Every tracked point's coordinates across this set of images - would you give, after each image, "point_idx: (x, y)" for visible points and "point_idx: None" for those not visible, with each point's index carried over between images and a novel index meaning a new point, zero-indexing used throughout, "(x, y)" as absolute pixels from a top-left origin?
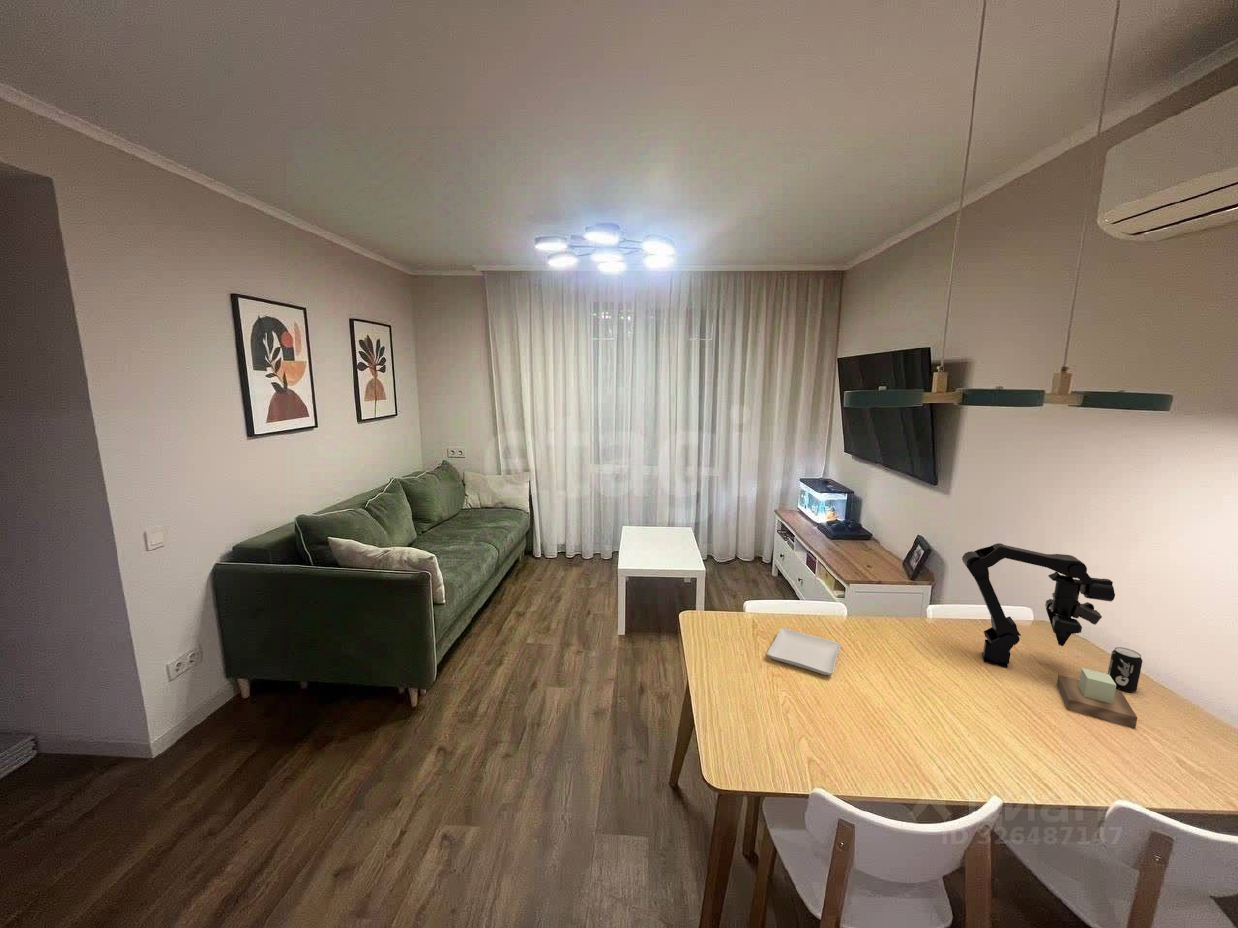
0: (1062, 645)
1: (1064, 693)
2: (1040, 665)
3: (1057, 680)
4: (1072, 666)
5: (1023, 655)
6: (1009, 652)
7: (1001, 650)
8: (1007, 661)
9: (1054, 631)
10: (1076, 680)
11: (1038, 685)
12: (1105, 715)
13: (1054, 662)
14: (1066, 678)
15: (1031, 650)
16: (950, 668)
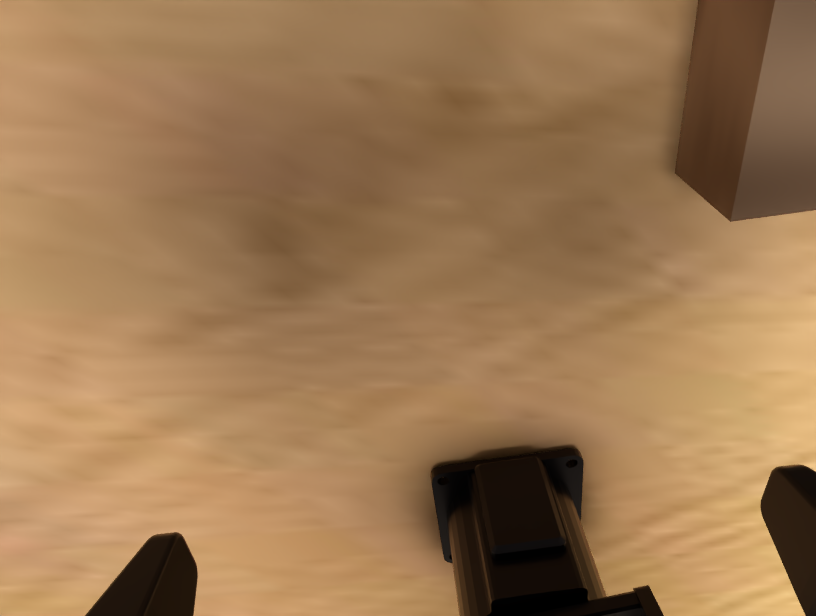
0: (802, 475)
1: None
2: (346, 280)
3: (704, 192)
4: (83, 17)
5: (243, 383)
6: (559, 545)
7: (604, 595)
8: (545, 477)
9: (187, 597)
10: (793, 57)
11: (760, 286)
12: None
13: (156, 181)
14: (785, 153)
15: (60, 343)
16: (754, 612)
